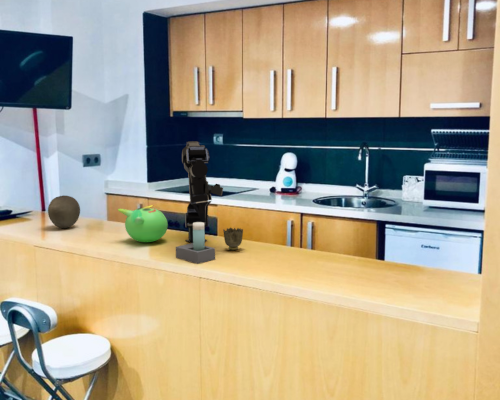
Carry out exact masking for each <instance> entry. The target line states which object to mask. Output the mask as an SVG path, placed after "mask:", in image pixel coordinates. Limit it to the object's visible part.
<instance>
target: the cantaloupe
mask: <svg viewBox="0 0 500 400" xmlns="http://www.w3.org/2000/svg"><path fill="white" fill-rule="evenodd" d="M80 214H81V207H80V204H79V201H78V200H77V199H76V198H74V197H73V196H70V195H59V196H56V197H54V198H53V199H52V200H51V201H50V202H49V204H48V207H47V216H48V217H49V219H50V220H49V221H51V223H52V224H53V225H54V226H55V227H57V228H60V229H67V228H70V227H71V226H73V225H75V224H76V223H77V221H79V217H80Z"/></svg>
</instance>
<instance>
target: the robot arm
mask: <svg viewBox="0 0 500 400" xmlns="http://www.w3.org/2000/svg"><path fill="white" fill-rule="evenodd" d="M209 161H210V153H209V150H208V148H206V146H205V145H200V141H197V140H196V141H193V140H192V141H189V140H188V141H186V146H185V147H183V148H182V151H181V163H182V164H183V168H184V170H185V171H186V172H187V173H188V175H187V176H188V187H189V188H188V190H189V191H188V192H189V203H188V205H187V208H186V212H185V216H184V217H185V218H184V219H185V220H184V221H185V222H184V223H185V229H188V231H187V233H188V235H187V236H188V237H187V238H188V239H185V242H187V243H193V223H195V222H203V223H204V228H207V227H209V214H208V213H209V205H210V204H211V203H212V200H213V199H212V194H213V195H217V196H219V197H221V196H223V191H224V187H222V186H221V184H219V183H215V184H214V185H212V184H209V181H208V180H207V173H208V171H209V170H208V166H207V164H209ZM205 233H206V232H205V230H204V234H205ZM205 235H206V234H205ZM205 242H208V239H206V238H205Z"/></svg>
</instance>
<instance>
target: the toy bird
mask: <svg viewBox="0 0 500 400" xmlns="http://www.w3.org/2000/svg"><path fill="white" fill-rule="evenodd" d="M153 207H154V204H152V205H147V206H144V207H139V208H136V209H135V210H131V209H125V208H118V209H117V211H118V212H119V213H121V214H122V215H124V216H126V218H125V221H124V226H125V227H124V228H125V231H126V233H127V234H128V236H129V237H131V239H133V240H135V241H137V242H139V243H153V242H156V241H158V240H160V239H162V238H163V237H164V236H165V235H166V233H167V231H168V226H169V224H168V219H167V218H166V216H165V215H164V213H163V212H162V211H160V210H158V209H156V208H153Z"/></svg>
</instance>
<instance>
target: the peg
mask: <svg viewBox="0 0 500 400" xmlns="http://www.w3.org/2000/svg"><path fill="white" fill-rule="evenodd" d="M204 223H205V222H204ZM204 223H203V222H195V223H193V250H195V251H201V250H205V246H206V244H205V242H206V241H205V239H206V238H205V237H206V234H204V231H205V227H204Z"/></svg>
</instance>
